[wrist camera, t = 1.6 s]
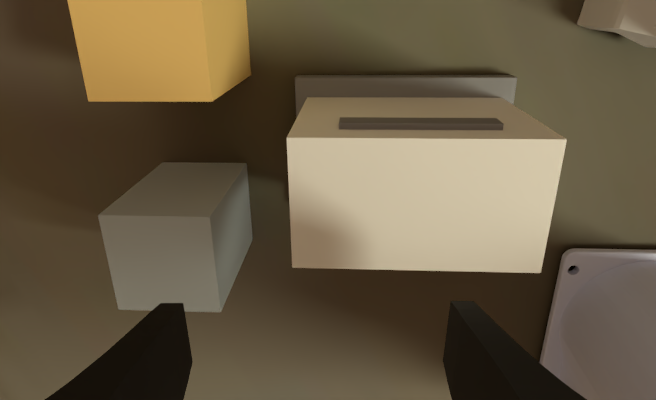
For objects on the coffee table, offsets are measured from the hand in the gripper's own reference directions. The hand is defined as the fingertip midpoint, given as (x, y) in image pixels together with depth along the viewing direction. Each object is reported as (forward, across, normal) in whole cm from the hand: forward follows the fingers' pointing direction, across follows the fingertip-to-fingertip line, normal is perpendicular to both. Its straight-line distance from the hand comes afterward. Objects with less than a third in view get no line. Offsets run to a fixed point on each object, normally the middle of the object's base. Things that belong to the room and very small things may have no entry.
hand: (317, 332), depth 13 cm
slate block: (+11, +5, +1) cm, 12 cm away
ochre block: (+11, +5, -7) cm, 14 cm away
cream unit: (+10, -4, -2) cm, 11 cm away
